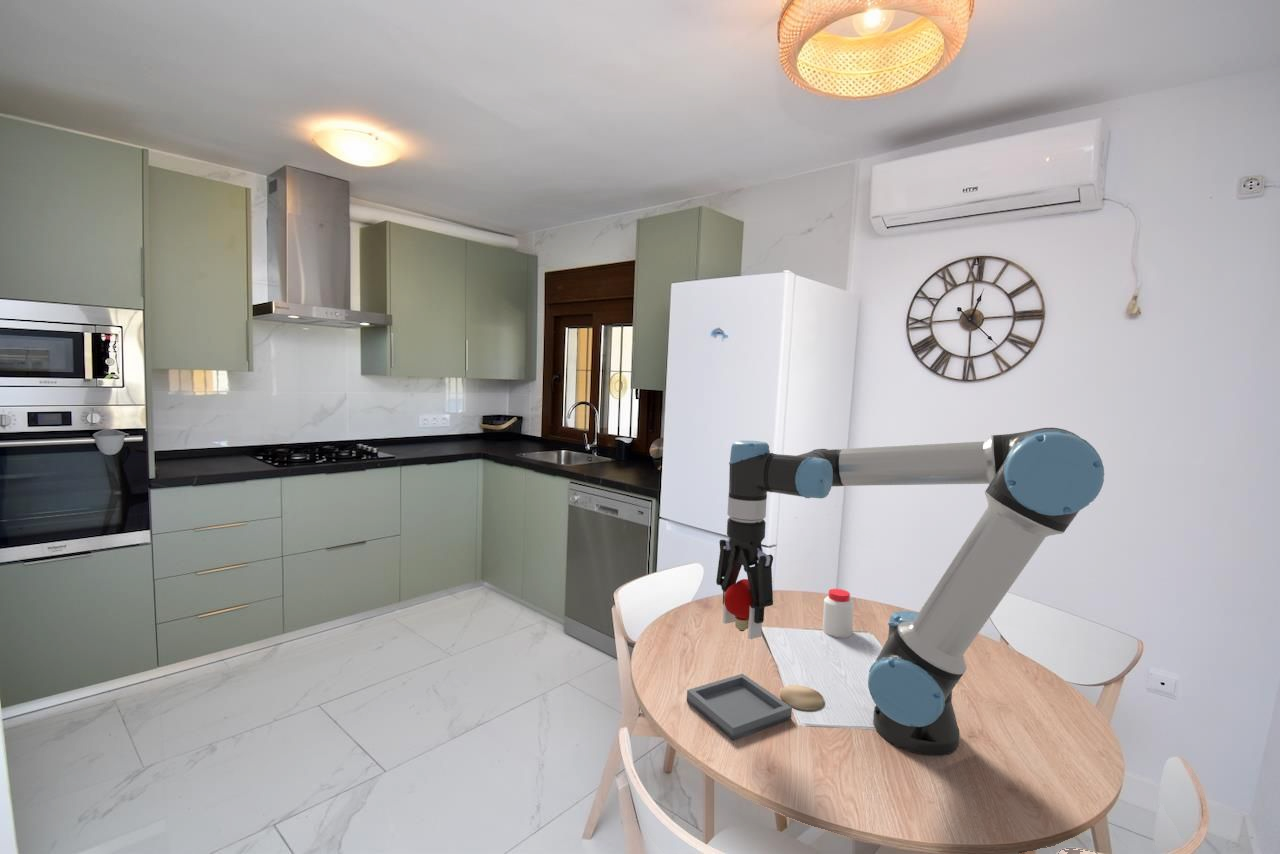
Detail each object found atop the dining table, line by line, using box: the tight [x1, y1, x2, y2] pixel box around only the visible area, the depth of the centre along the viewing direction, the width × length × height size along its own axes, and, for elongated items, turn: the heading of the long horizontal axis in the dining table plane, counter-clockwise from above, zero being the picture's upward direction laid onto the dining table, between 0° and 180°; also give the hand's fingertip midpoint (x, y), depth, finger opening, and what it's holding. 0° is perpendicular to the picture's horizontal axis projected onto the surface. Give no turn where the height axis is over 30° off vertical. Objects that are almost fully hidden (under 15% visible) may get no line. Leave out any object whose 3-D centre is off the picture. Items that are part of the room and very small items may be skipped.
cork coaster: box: [779, 684, 825, 711], centre depth 124 cm, size 9×9×1 cm
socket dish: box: [686, 673, 793, 741], centre depth 119 cm, size 15×15×2 cm
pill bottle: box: [821, 588, 855, 639], centre depth 158 cm, size 8×8×11 cm
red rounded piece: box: [724, 578, 759, 632], centre depth 117 cm, size 9×7×10 cm
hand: (741, 629), depth 118 cm, fingers closed on red rounded piece, 7 cm apart
